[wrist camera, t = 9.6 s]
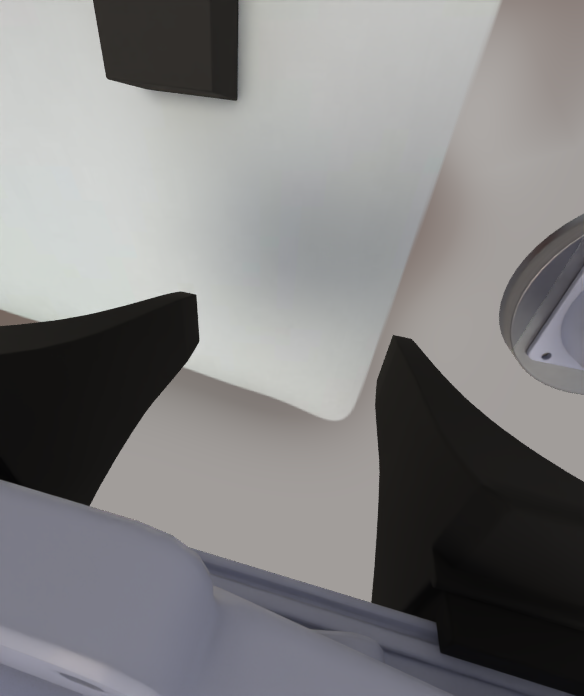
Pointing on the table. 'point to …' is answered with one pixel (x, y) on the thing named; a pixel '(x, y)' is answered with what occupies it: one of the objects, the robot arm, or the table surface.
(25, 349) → the robot arm
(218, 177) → the table surface
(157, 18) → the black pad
